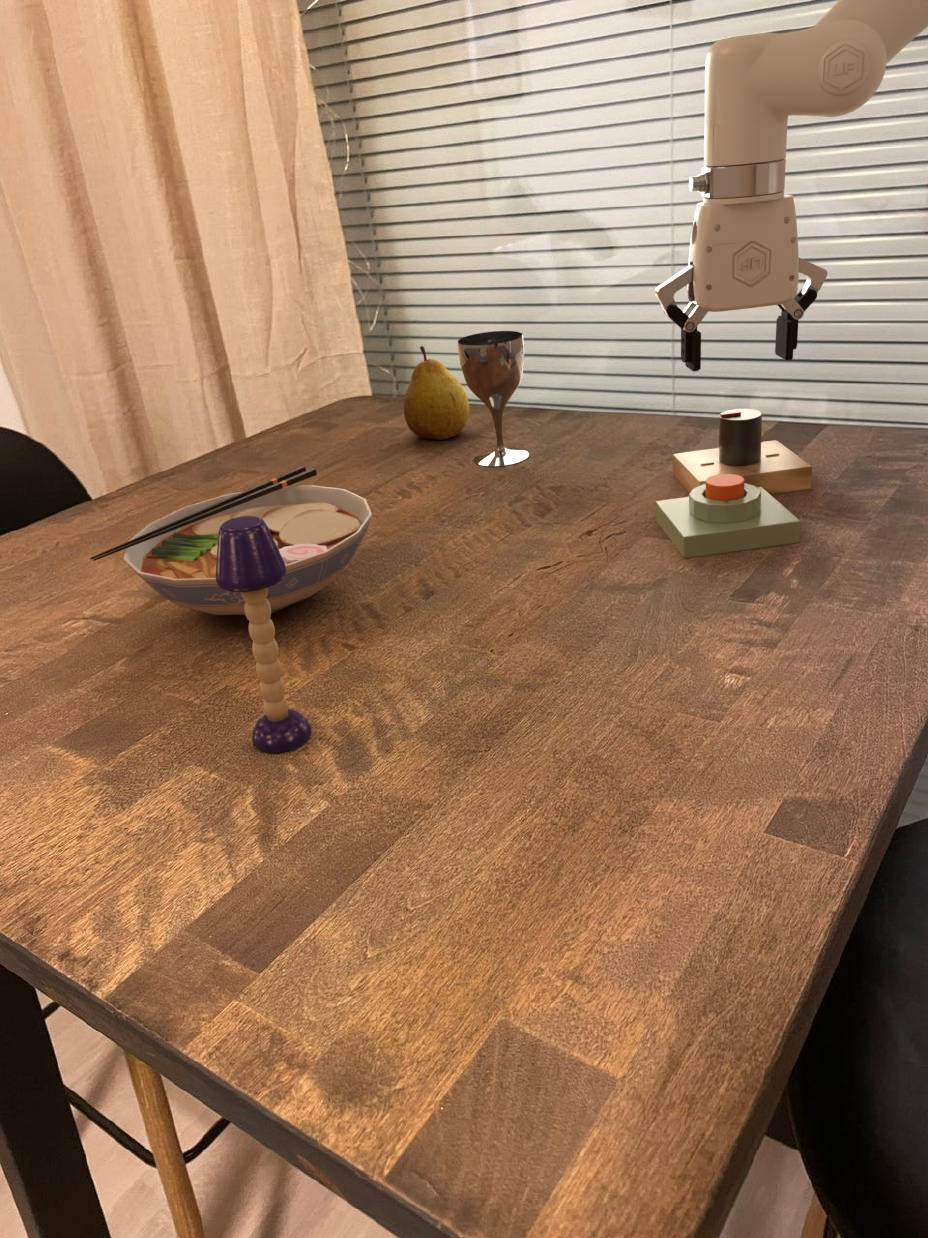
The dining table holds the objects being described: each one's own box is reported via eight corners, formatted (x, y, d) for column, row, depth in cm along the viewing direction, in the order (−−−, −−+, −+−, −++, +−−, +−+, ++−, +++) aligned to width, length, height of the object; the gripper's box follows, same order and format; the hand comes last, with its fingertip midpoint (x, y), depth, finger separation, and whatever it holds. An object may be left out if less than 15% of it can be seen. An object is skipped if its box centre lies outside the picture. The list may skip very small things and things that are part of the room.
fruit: (464, 443, 131) (453, 353, 126) (400, 445, 134) (387, 357, 128) (478, 424, 139) (469, 339, 133) (417, 427, 141) (406, 343, 136)
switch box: (761, 506, 99) (762, 469, 98) (799, 542, 91) (801, 502, 89) (655, 521, 99) (654, 484, 97) (683, 558, 90) (683, 518, 88)
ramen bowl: (221, 690, 78) (197, 599, 74) (89, 621, 93) (63, 542, 89) (441, 576, 93) (430, 495, 89) (297, 532, 108) (282, 461, 104)
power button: (736, 488, 95) (737, 471, 94) (749, 500, 92) (750, 483, 91) (700, 493, 95) (700, 476, 94) (712, 505, 92) (712, 488, 91)
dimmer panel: (775, 460, 111) (776, 438, 110) (811, 488, 102) (812, 464, 101) (672, 474, 111) (672, 452, 110) (699, 504, 102) (699, 480, 101)
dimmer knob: (752, 450, 108) (753, 403, 105) (766, 462, 104) (768, 413, 101) (713, 456, 107) (713, 409, 105) (726, 468, 103) (727, 419, 101)
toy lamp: (297, 711, 73) (252, 504, 66) (332, 733, 70) (288, 518, 63) (242, 739, 71) (188, 527, 63) (275, 763, 68) (223, 542, 60)
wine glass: (529, 465, 120) (519, 342, 113) (466, 469, 121) (452, 347, 114) (535, 445, 127) (526, 328, 120) (475, 449, 128) (462, 333, 121)
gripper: (665, 195, 90) (666, 381, 97) (849, 175, 90) (835, 360, 98) (645, 191, 96) (647, 365, 104) (815, 172, 97) (805, 346, 105)
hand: (738, 362), depth 101 cm, fingers open, 9 cm apart
